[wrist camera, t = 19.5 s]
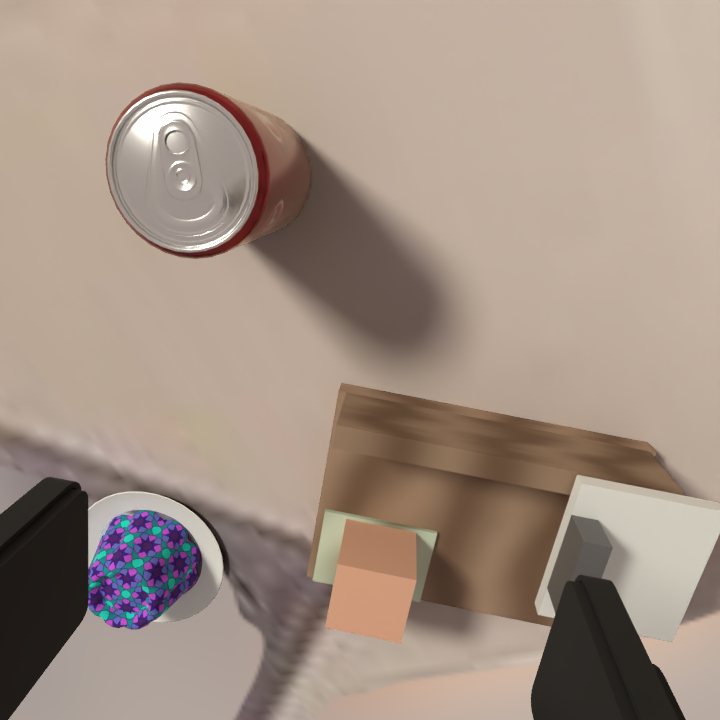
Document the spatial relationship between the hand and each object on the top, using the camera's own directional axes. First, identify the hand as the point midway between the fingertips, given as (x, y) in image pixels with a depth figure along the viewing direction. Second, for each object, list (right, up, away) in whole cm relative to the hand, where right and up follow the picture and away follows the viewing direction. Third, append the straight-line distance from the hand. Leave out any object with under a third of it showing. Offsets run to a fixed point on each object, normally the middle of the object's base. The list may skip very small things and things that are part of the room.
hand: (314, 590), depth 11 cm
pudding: (-16, -11, +35) cm, 40 cm away
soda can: (-6, +16, +25) cm, 30 cm away
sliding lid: (+16, -7, +23) cm, 29 cm away
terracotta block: (+2, -10, +30) cm, 32 cm away
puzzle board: (+9, -6, +31) cm, 32 cm away
